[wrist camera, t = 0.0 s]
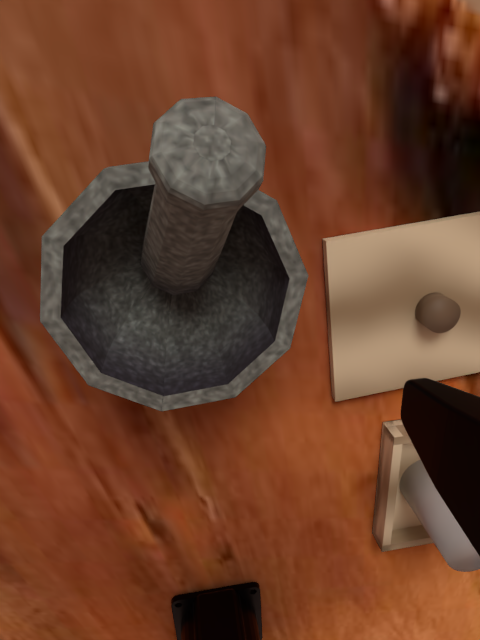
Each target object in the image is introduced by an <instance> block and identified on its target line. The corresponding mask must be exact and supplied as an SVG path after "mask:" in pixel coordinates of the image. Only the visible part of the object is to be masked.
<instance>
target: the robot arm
mask: <svg viewBox="0 0 480 640" xmlns="http://www.w3.org/2000/svg"><path fill="white" fill-rule="evenodd" d="M401 420H402V423H403V426H404V428H405V430H406V432H407V434H408V436H409V438H410V440H411V442H412V444H413V446H414V448H415V450H416V451H417V453H418V455H419V457H420V459H421V461H422V463H423V465H424V467H425V469H426V471H427V473H428V475H429V477H430V479H431V481H432V483H433V484H434V486H435V488H436V490H437V491H438V493H439V494H440V496H441V498H442V499H443V501H444V502H445V504H446V505H447V507H448V509H449V510H450V512H451V513H452V515H453V516H454V518H455V519H456V521H457V522H458V524H459V525H460V527H461V529H462V530H463V532H464V533H465V535H466V536H467V538H468V539H469V541H470V542H471V544H472V546H473V547H474V549H475V550H476V552H477V553H478V555H479V556H480V397H478V396H475V395H473V394H470V393H467V392H464V391H462V390H459V389H456V388H453V387H451V386H448V385H445V384H442V383H439V382H437V381H434V380H431V379H428V378H417V379H410V380H407V381H406V382H405V384H404V388H403V397H402V406H401ZM172 612H173V618H174V624H175V630H176V635H177V640H262V622H261V601H260V588H259V584H258V583H256V582H250V583H244V584H239V585H233V586H227V587H222V588H216V589H210V590H204V591H199V592H193V593H187V594H182V595H177V596H174V597H173V598H172Z"/></svg>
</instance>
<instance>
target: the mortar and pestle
mask: <svg viewBox="0 0 480 640" xmlns="http://www.w3.org/2000/svg"><path fill="white" fill-rule="evenodd" d="M265 153H266V145H265V143H264V142H263V140H262V138H261V136H260V135H259V133H258V131H257V129H256V128H255V126H254V124H253V122H252V121H251V119H250V117H249V116H248V114H247V113H245V112H243V111H241V110H239V109H238V108H236V107H234V106H232V105H230V104H228V103H227V102H225V101H223V100H221V99H219V98H217V97H205V98H191V99H181V100H179V101H178V102H177V103H176V104H175V105H174V106H173V107H171V108H170V109H169V110H168V111H167V112H166V113H165V114H164V115H162V116H161V117H160V118H159V119H158V120H157V121H156V122H155V123H154V124H153V132H152V140H151V148H150V155H149V161H148V162H141V163H134V164H127V165H120V166H112V167H108V168H105V169H103V170H102V171H101V172H100V173H99V174H98V176H97V177H96V178H95V179H94V180H93V181H92V182H91V183H90V184H89V185H88V187H87V188H86V189H85V190H84V191H83V192H82V193H81V194H80V195H79V196H78V197H77V199H76V200H75V201H74V202H73V203H72V204H71V205H70V206H69V207H68V208H67V210H66V211H65V212H64V213H63V214H62V215H61V216H60V217H59V218H58V219H57V221H56V222H55V223H54V224H53V225H52V226H51V227H50V228H49V229H48V230H47V231H46V233H45V234H44V235H43V236H42V258H41V303H40V321H41V323H42V324H43V325H44V327H45V328H46V329H47V331H48V332H49V333H50V335H51V336H52V337H53V339H54V340H55V341H56V343H57V344H58V345H59V347H60V348H61V349H62V351H63V352H64V353H65V355H66V356H67V357H68V359H69V360H70V361H71V363H72V364H73V365H74V367H75V368H76V369H77V371H78V372H79V373H80V375H81V376H82V377H83V379H84V380H85V381H86V383H87V384H88V385H89V386H92V387H95V388H98V389H100V390H103V391H106V392H109V393H112V394H114V395H117V396H120V397H123V398H126V399H128V400H131V401H134V402H137V403H140V404H142V405H145V406H148V407H151V408H153V409H156V410H159V411H166V410H172V409H177V408H182V407H187V406H193V405H198V404H203V403H208V402H214V401H219V400H224V399H229V398H234V397H236V396H237V395H238V394H240V393H241V392H242V391H243V390H244V389H245V388H246V387H247V386H249V385H250V384H251V383H252V382H253V381H254V380H255V379H256V378H257V377H259V376H260V375H261V374H262V373H263V372H264V371H265V370H266V369H267V368H269V367H270V366H271V365H272V364H273V363H274V362H275V361H276V360H277V359H279V358H280V357H281V356H282V355H283V354H284V353H285V352H286V351H287V350H289V349H290V346H291V342H292V338H293V334H294V330H295V326H296V322H297V318H298V314H299V310H300V306H301V302H302V298H303V294H304V290H305V286H306V282H307V278H308V274H307V271H306V269H305V267H304V264H303V262H302V260H301V257H300V255H299V252H298V250H297V248H296V245H295V243H294V241H293V238H292V236H291V233H290V231H289V229H288V226H287V224H286V221H285V219H284V217H283V214H282V212H281V210H280V207H279V205H278V202H277V200H275V199H273V198H271V197H270V196H268V195H266V194H264V193H263V192H261V191H259V190H258V189H259V187H260V185H261V184H262V182H263V176H264V164H265Z"/></svg>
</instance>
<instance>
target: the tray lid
mask: <svg viewBox="0 0 480 640" xmlns="http://www.w3.org/2000/svg"><path fill="white" fill-rule="evenodd" d="M322 240H323V256H324V273H325V289H326V305H327V322H328V338H329V354H330V371H331V387H332V397H333V399H334V400H335V402H337V401H342V400H346V399H351V398H356V397H361V396H366V395H371V394H376V393H380V392H385V391H390V390H395V389H400V388H404V384H405V382H406V381H407V380H410V379H417V378H428V379H431V380H434V381H439V380H444V379H449V378H454V377H458V376H463V375H468V374H473V373H478V372H480V212H475V213H469V214H463V215H457V216H452V217H446V218H440V219H434V220H429V221H423V222H417V223H411V224H405V225H400V226H394V227H388V228H382V229H376V230H371V231H365V232H359V233H353V234H348V235H342V236H336V237H330V238H324V239H322Z"/></svg>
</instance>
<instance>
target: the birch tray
mask: <svg viewBox="0 0 480 640" xmlns="http://www.w3.org/2000/svg"><path fill="white" fill-rule="evenodd" d="M418 460H420V457H419V455H418V453H417V451H416V450H415V448H414V446H413V444H412V442H411V440H410V438H409V436H408V434H407V432H406V430H405V428H404V426H403V423H402V420H395V421H388V422H383V425H382V436H381V446H380V457H379V467H378V478H377V488H376V499H375V509H374V520H373V530H372V534H373V536H374V538H375V539H376V541H377V543H378V545H379V547H380V549H381V551H382V552H384V551H389V550H395V549H401V548H407V547H412V546H418V545H424V544H430V543H434V542H433V541H432V539H431V538H430V536H429V535H428V533H427V532H426V530H425V529H424V527H423V525H422V524H421V522H420V521H419V519H418V518H417V516H416V515H415V513H414V512H413V510H412V509H411V507H410V506H409V504H408V503H407V501H406V500H405V498H404V497H403V495H402V493H401V491H400V487H399V484H400V479H401V477H402V475H403V473H404V472H405V471H406V469H407V468H408V467H409V466H411V465H412V464H413V463H415V462H416V461H418Z"/></svg>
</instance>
